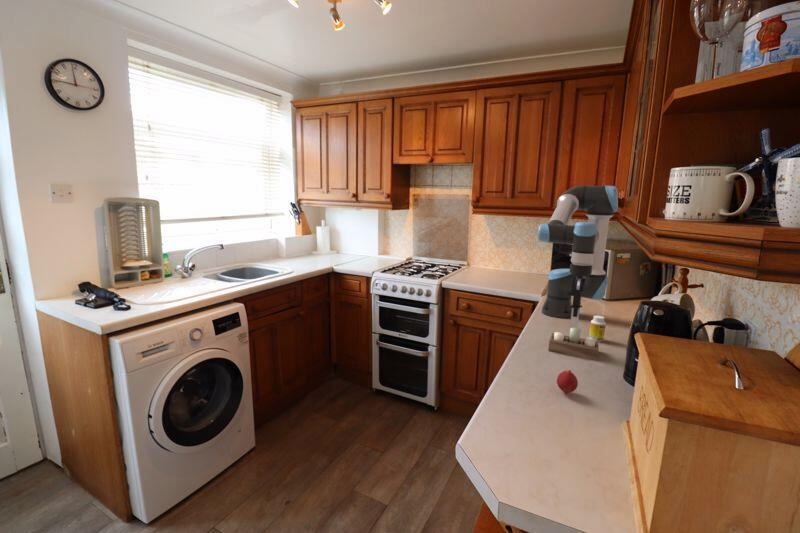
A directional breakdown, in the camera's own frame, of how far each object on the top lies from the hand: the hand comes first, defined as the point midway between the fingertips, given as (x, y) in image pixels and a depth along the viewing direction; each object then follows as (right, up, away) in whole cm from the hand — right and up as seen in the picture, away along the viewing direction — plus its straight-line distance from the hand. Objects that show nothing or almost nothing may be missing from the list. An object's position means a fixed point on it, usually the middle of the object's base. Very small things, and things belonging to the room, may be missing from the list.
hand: (574, 323), depth 146 cm
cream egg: (-4, -9, +4) cm, 11 cm away
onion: (-17, -17, -30) cm, 38 cm away
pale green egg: (0, -7, +1) cm, 7 cm away
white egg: (+5, -11, -1) cm, 12 cm away
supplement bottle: (+16, -9, +14) cm, 23 cm away
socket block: (0, -11, +2) cm, 11 cm away
